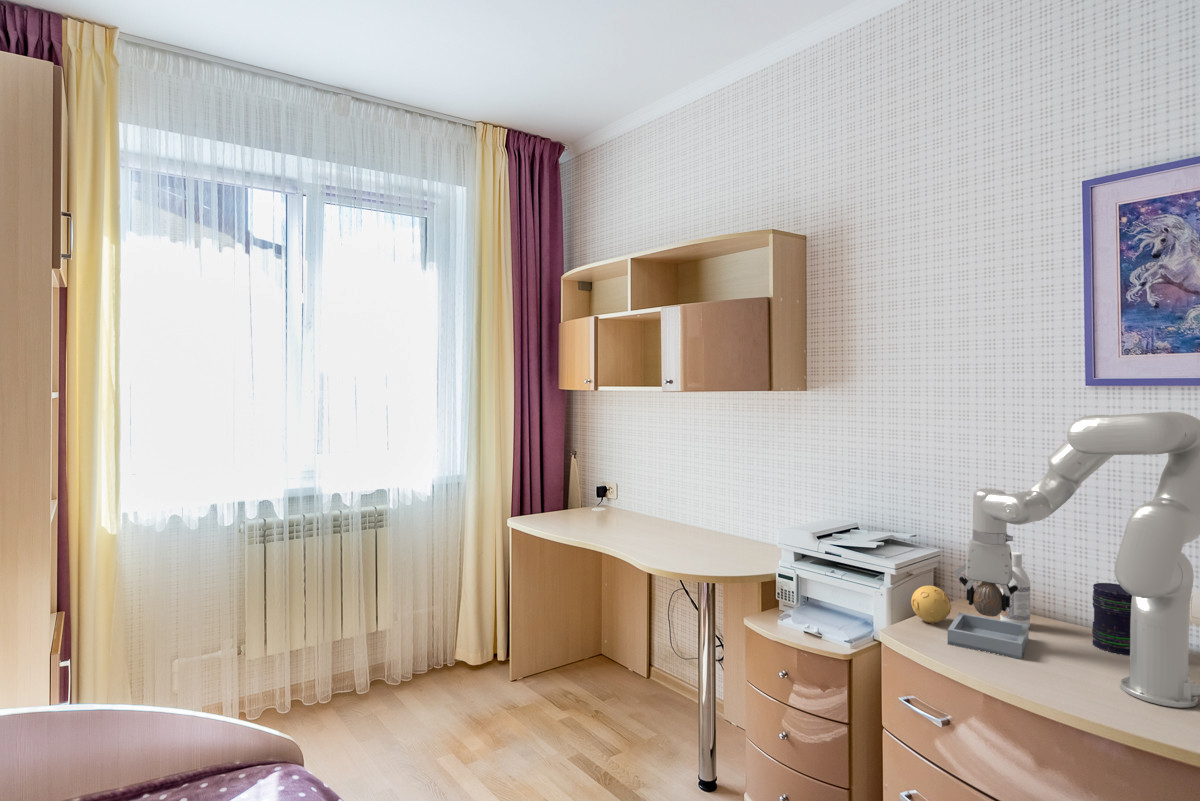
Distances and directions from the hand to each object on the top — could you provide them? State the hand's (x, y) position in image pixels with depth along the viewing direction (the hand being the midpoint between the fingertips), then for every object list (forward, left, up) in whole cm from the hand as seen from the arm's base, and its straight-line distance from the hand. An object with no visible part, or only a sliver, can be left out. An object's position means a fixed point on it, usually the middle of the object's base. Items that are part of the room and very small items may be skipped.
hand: (987, 606), depth 172 cm
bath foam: (-4, -18, -9) cm, 21 cm away
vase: (0, 0, -2) cm, 2 cm away
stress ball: (+15, -7, -9) cm, 19 cm away
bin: (0, 0, -9) cm, 9 cm away
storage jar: (-26, -15, -9) cm, 32 cm away
